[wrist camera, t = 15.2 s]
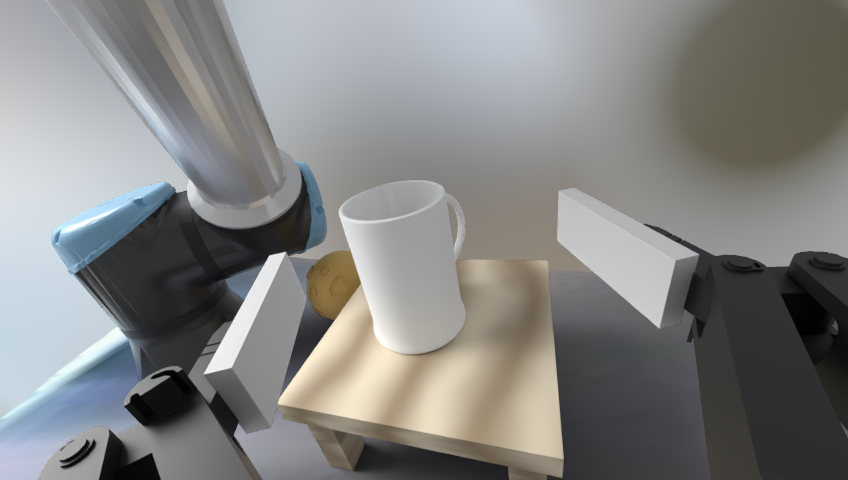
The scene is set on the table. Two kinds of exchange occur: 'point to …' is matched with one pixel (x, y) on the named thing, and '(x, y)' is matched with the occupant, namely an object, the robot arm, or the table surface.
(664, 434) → the table surface
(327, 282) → the stress ball
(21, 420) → the table surface
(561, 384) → the table surface
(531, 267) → the footstool
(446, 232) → the mug
